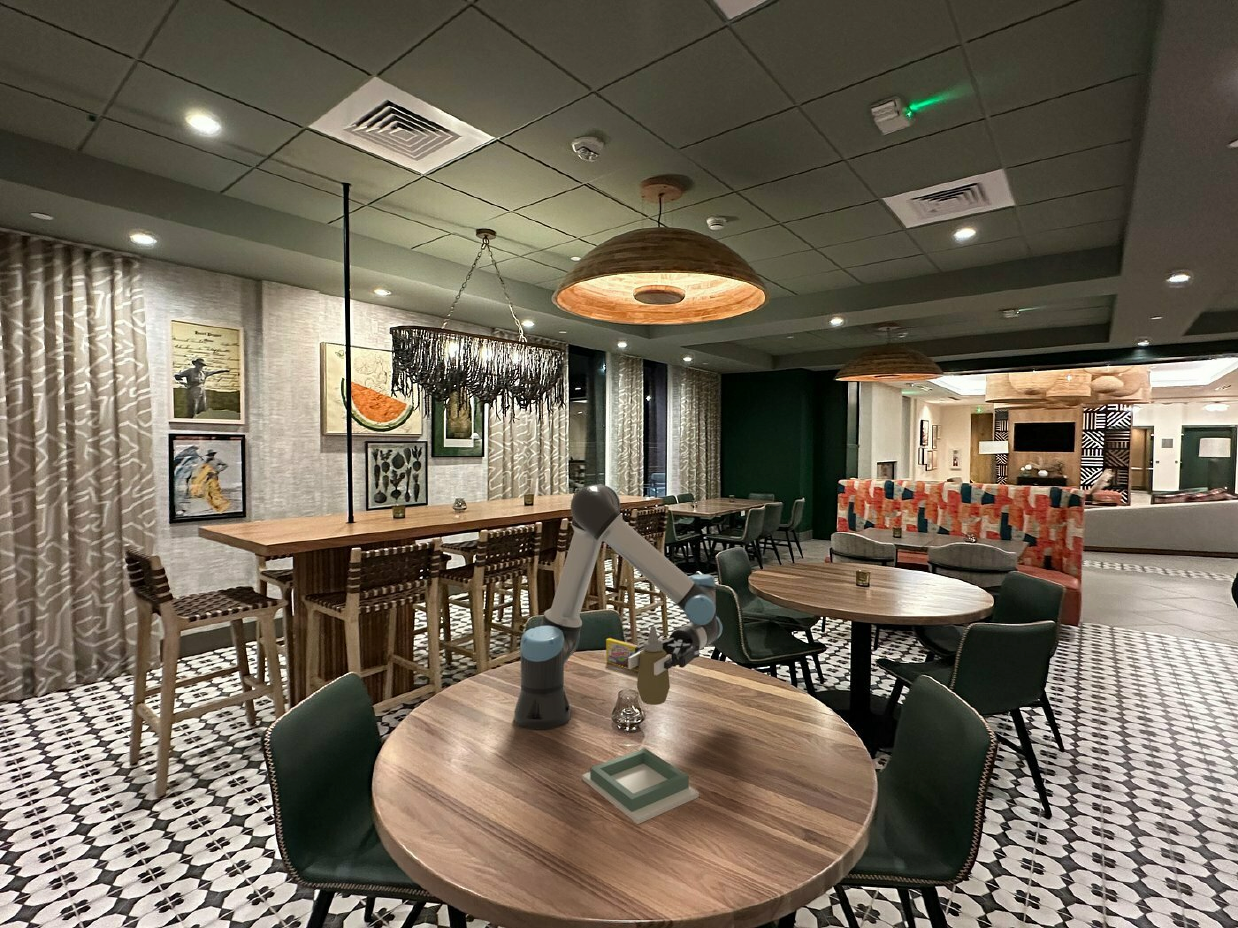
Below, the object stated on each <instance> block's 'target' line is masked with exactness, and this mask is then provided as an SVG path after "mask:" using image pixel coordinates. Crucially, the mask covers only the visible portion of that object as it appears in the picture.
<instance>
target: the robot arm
mask: <svg viewBox="0 0 1238 928" xmlns="http://www.w3.org/2000/svg"><path fill="white" fill-rule="evenodd" d="M620 509H621V501H620V497H619V494H617V492H616V491H615V490H614V489H613V488H612V487H610V486H608V485H605V484H601V483H597V484H596V483H595V484H591V485H589V486H585V487H582V488H580V489H579V490H578V491H576V493H575V494H573V497H572V498H571V501H570V512H571V516H572V520H571V524H570V525H571V527H572V528H573V529H572V530H573V535H572V539H571V541H570V545H569V547H568V552H567V555H566V558H565V562H564V565H563V568H562V571H561V574H560V578H559V581H558V584H557V588H556V591H555V594H554V598H553V600H552V604H551V608H549V609H546V610H545V611H544V613H543V616H542V620H541V623H540V626H535V627H534V628H529V629H527V630H526V631H524V633H523V634H522V635H521V639H520V645H519V652H520V692H519V695H518V699H517V701H516V703H515V708H514V711H513V713H514V715H513V716H514V722H515V724H516V725H518V726H519V727H521V728H525V729H529V730H549V729H550V730H551V729H555V728H558V727H560V726H561V727H562V725H565V724H566V723H567V722H568V721H569V720H570V718H571V706H570V703H569V700H568V697H567V694H566V690H565V664H566V663H567V661H568V660H569V659H570V657H571V656H572V655H574V653H575V652H576V650H577V649H578V646H579V643H580V632H581V629H582V626H583V621H582V619H581V617H580V614H581V611H582V608H583V605H584V602H585V598H586V595H587V592H588V590H589V585H590V583H591V578H592V575H593V572H594V569H595V567H596V566H595V565H596V562H597V559H598V556H599V553H600V550H601V547H602V546H601V545H602V542H604V543H605V544H606V545H608V546H609V547H610V548H611V549H613V550H614V551H615V552H616V553H617V554H618V555H619V556H620V557H622V558H623V559H624V560H625V562H627V563H628V564H630V566H632V568H634V569H635V570H637V572H638V573H639V574H641V575H642V576H643V577H644V578H646V579H647V580H648V581H649V582H650V583H651V584H653V585H654V586H655V587H656V589H658V590H660V592H662V593H663V595H665V596H666V597H667V598H669V600H671V601H672V602H673V603H674V604H675V605H676V606H677V607H678V608H679V609H681V610H682V612H684V614H685V616H686V618H687V619H688V621H689V623H687V624H685V625H683V626H681V627H679V628H677V629H675V630H673V631H672V632H671V633H670V635H669V637H668V638H666V639H665V638H664V639H663V640H661V641H662V642H663V650H664V651H665V652H666V654H667V656H666V657H664V658H662V659H660V660H659V661H657V662H655V663H654V675H658V674H660V673H661V672H663V671H665V670H666V669H668V670H670V669H671V668H675V667H677V666H678V667H679V668H681V669H682V668H685V666H687V665H688V664H689V663H691V662H692V661H693V660H694V659H696V658H699V657H700V650H702V649H704V648H705V647H707V646H708V645H710V644H712V643H714V642H716V641H717V639H718V638H719V637H720V636H721V635H722V633H723V623H722V622H721V620H720V618H719V616H717V609H716V607H717V605H716V604H717V601H716V600H717V599H716V589H717V588H716V587H717V586H716V583H715V582H716V580H715V577H714V576H713V575H712V574H711V575H710V574H704V573H703V574H700V573H699V574H692V575H690V576H688V575H687V574H686V573H684V571H682V570H681V569H680V568H678V566H676V564H674V563H673V562H672V561H670V560H669V559H668V558H667V557H666V556H665V555H664V554H663V553H661V552H660V551H659V550H658V549H657V548H656V547H655V546H654V545H652V543H650V542H649V541H648V540H646V538H644V537H643V536H642V535H641V534H640V533H639V532H637V531H636V530H635V529H634V528H633V527H632V526H630V525H629V524H628V523H627V522H626V521H625V520H624V519H623V513H621V512H620ZM643 649H644V642H643V643H641V644H639V645H637V646H636V647H635V654H633V655H632V656H630V657H628V668H627V670H631V669H632V668H634V667H636V666H638V665H639V658H640V652H641V651H642V650H643Z"/></svg>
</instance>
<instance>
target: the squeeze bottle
mask: <svg viewBox="0 0 1238 928" xmlns="http://www.w3.org/2000/svg"><path fill="white" fill-rule="evenodd" d="M657 633H658V632H657V628H656V627H655V626H651V627H650V629H649V633H648V638H647V640H644V641H643V643H644V649H643V650H642V651H641V652H640V658H639V669H638V671H637V679H636V680H637V681H636V688H637V691H638V694H639V696H640V700H641V702H642V703H644V704H646V705H650V706H652V705H653V706H654V705H655V706H657V705H661V704H664V703H665V702H666V700H667V697H668V694H669V691H670V688H671V684H670V683H671V682H670V676H669V675H670V673H669V669H666V670H665V671H663V672H661V673H660V674H658V675H654V663H655V662H657V661H659V660H660V659H662V658H664V657H666V656H667V654H666V652H665V651H664V650H663V642H662V641H663V640H659V638H658V634H657Z"/></svg>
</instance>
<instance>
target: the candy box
mask: <svg viewBox="0 0 1238 928" xmlns="http://www.w3.org/2000/svg"><path fill="white" fill-rule="evenodd" d="M605 643H606V644H605V647H606V648H605V649H606V652H605V653H606V655H605V656H606V663H608V664H611V663H612V665H614V664H615V665H614V666H617V665H620V666H619V667H621V666H623V667H622V668H624V667H626V668H625V669H628V657H630V656H632V655H633V654H635V647H636V646H638V645H637V644H633V643H629V642H627V641H622V640H618V639H614V638H611V637H609V638H607V639H605ZM638 669H639V665H638V666H636V667H634V668H632V671H634V672H635V671H636V672H638Z"/></svg>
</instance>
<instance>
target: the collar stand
mask: <svg viewBox="0 0 1238 928" xmlns="http://www.w3.org/2000/svg"><path fill="white" fill-rule="evenodd" d="M581 777H582V778H581V779H582V781H584V782H585V783H586V784H587V785H588V786H590V787H591V789H594V791H596V792H597V793H598V794H600V795H601V796H602V797H604V799H606V801H608V802H609V803H610V804H612V805H613V806H614V807H616V808H617V809H618V810H619V811H621V812H622V813H623V814H624V815H626V817H628V818H629V819H630V820H632V821H633V822H634V823H635V824H637V825H639V824H641V823H643V822H646V821H648V820H651V819H653V818H655V817H657V816H660V815H661V814H664V813H666V812H669V811H670V810H673V809H675V808H678V807H680V806H682V805H684V804H686V803H688V802H691V801H693V800H696V799H697V798H699V797H700V796H699V795H700V794H699V793H700V792H699V791H698V790H696V789H694V788H693V787H691V786H690V784H689V783H690V776H689V775H688V774H687V773H685V772H683V771H682V770H681V769H679V768H677V767H675V766H674V765H673V764H671V763H669V762H668V761H667V760H664V759H663V758H661V757H660V756H658V755H656V754H655V753H653V752H652V751H650V750H649V749H647V748H646V747H645V748H642V749H638V750H635V751H632V752H631V753H627V754H625V755H621V756H619V757H616V758H613V759H610V760H608V761H605V762H601V763H599V764H596V765H594V766H592V767H590V770H589V772H586V773H583V774H582V775H581Z"/></svg>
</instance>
